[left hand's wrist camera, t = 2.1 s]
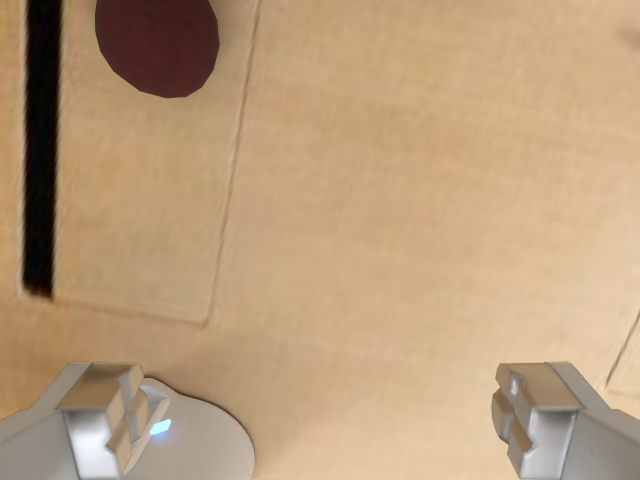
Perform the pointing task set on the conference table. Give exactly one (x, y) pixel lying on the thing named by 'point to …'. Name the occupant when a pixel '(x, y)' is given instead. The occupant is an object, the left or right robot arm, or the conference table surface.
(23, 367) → the conference table surface
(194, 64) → the potato
